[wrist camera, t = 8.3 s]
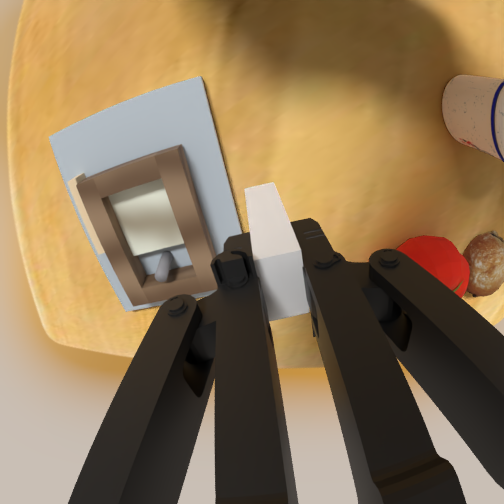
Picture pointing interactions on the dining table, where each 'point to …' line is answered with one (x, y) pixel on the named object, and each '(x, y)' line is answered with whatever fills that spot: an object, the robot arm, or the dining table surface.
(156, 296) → the walnut frame
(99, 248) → the wall panel
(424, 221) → the dining table surface
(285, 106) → the dining table surface
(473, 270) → the bread roll
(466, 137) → the teacup with lid
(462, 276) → the tomato
